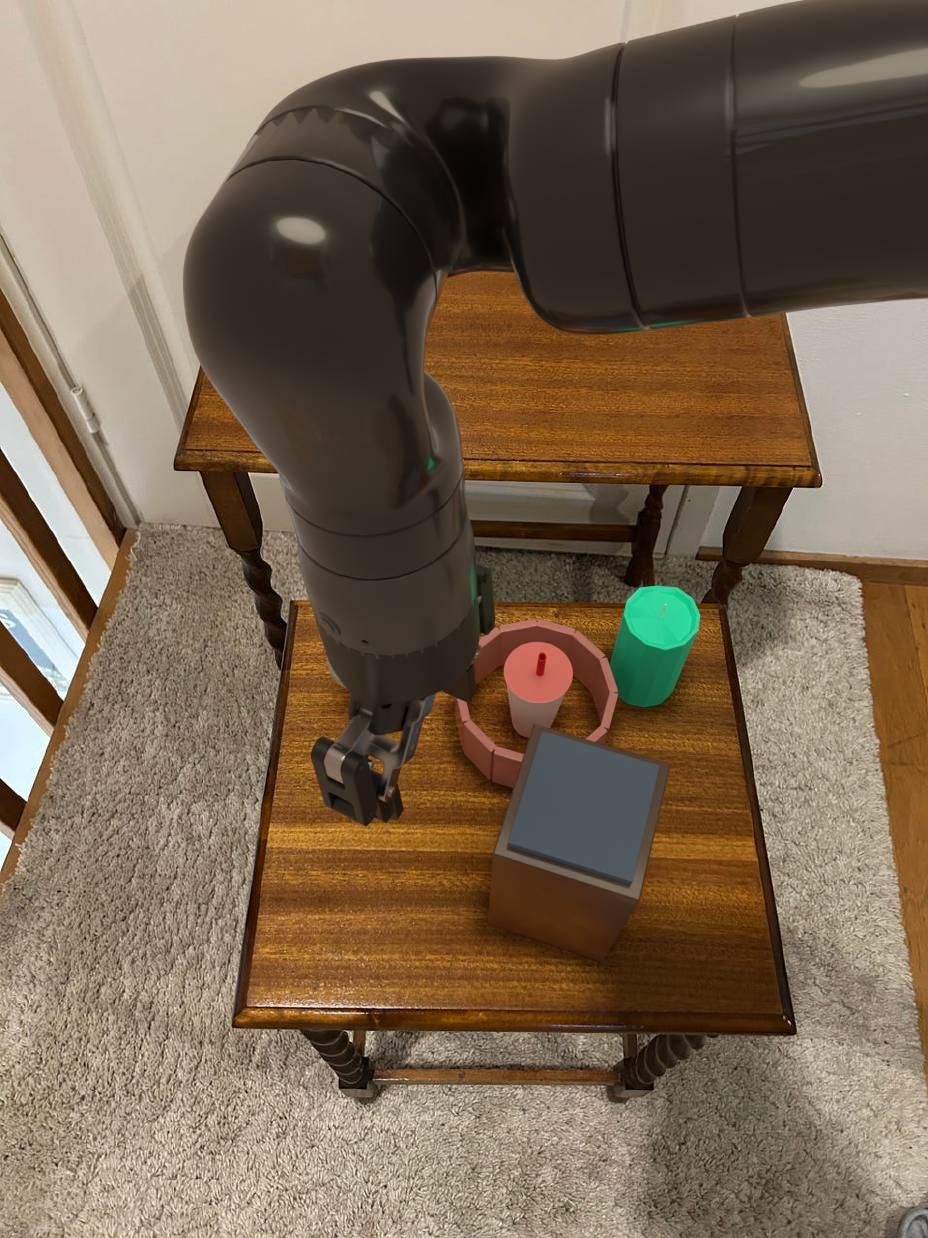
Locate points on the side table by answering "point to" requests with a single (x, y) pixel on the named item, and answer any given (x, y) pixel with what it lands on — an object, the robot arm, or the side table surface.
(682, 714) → the side table surface
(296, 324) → the robot arm
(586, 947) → the stand
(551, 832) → the coaster
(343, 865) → the side table surface
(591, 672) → the pink segmented ring
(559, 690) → the cup
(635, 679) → the candle
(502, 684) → the side table surface
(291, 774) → the side table surface
